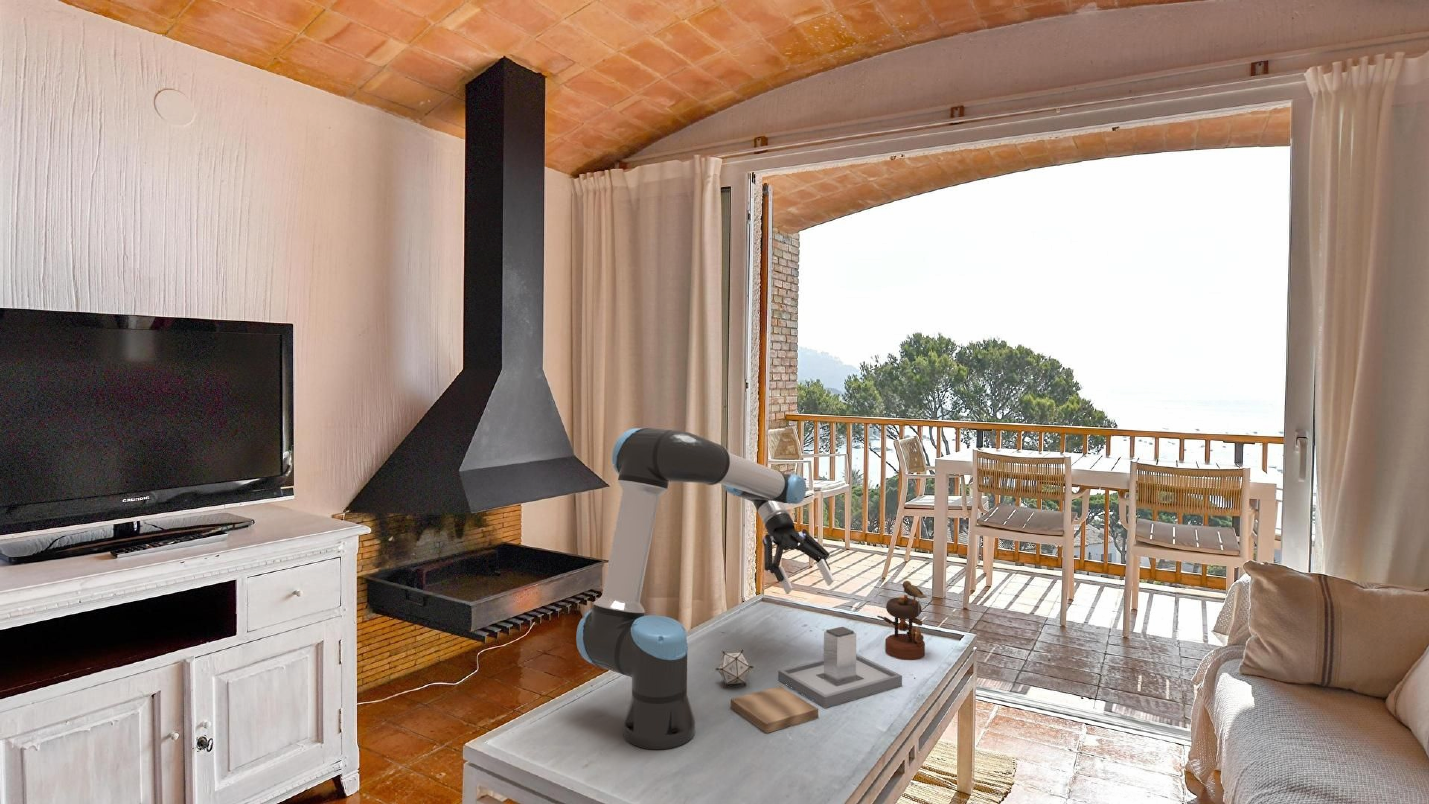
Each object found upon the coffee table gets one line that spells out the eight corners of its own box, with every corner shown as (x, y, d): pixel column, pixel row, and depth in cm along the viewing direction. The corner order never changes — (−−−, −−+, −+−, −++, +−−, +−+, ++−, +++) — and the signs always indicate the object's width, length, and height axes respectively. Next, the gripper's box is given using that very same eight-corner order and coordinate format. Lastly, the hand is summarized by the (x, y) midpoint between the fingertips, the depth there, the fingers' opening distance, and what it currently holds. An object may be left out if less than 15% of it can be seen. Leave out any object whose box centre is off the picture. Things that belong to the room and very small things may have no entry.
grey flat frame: (825, 708, 171) (825, 697, 171) (778, 680, 187) (778, 670, 186) (901, 685, 184) (902, 675, 183) (852, 661, 199) (852, 651, 199)
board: (766, 733, 159) (766, 724, 159) (730, 707, 171) (730, 699, 171) (818, 717, 166) (818, 708, 166) (780, 694, 178) (780, 686, 178)
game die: (738, 702, 183) (744, 679, 176) (708, 685, 185) (712, 662, 179) (754, 673, 189) (760, 650, 183) (724, 657, 192) (729, 634, 185)
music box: (938, 654, 204) (936, 582, 202) (916, 668, 197) (914, 594, 195) (890, 639, 215) (888, 571, 213) (867, 652, 208) (865, 581, 206)
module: (836, 689, 181) (837, 636, 181) (823, 682, 186) (824, 629, 185) (855, 684, 184) (856, 631, 184) (842, 677, 189) (842, 625, 188)
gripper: (806, 522, 216) (841, 587, 204) (733, 532, 203) (765, 602, 191) (818, 506, 211) (854, 572, 199) (744, 516, 198) (777, 587, 186)
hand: (810, 587), depth 195 cm, fingers open, 13 cm apart
